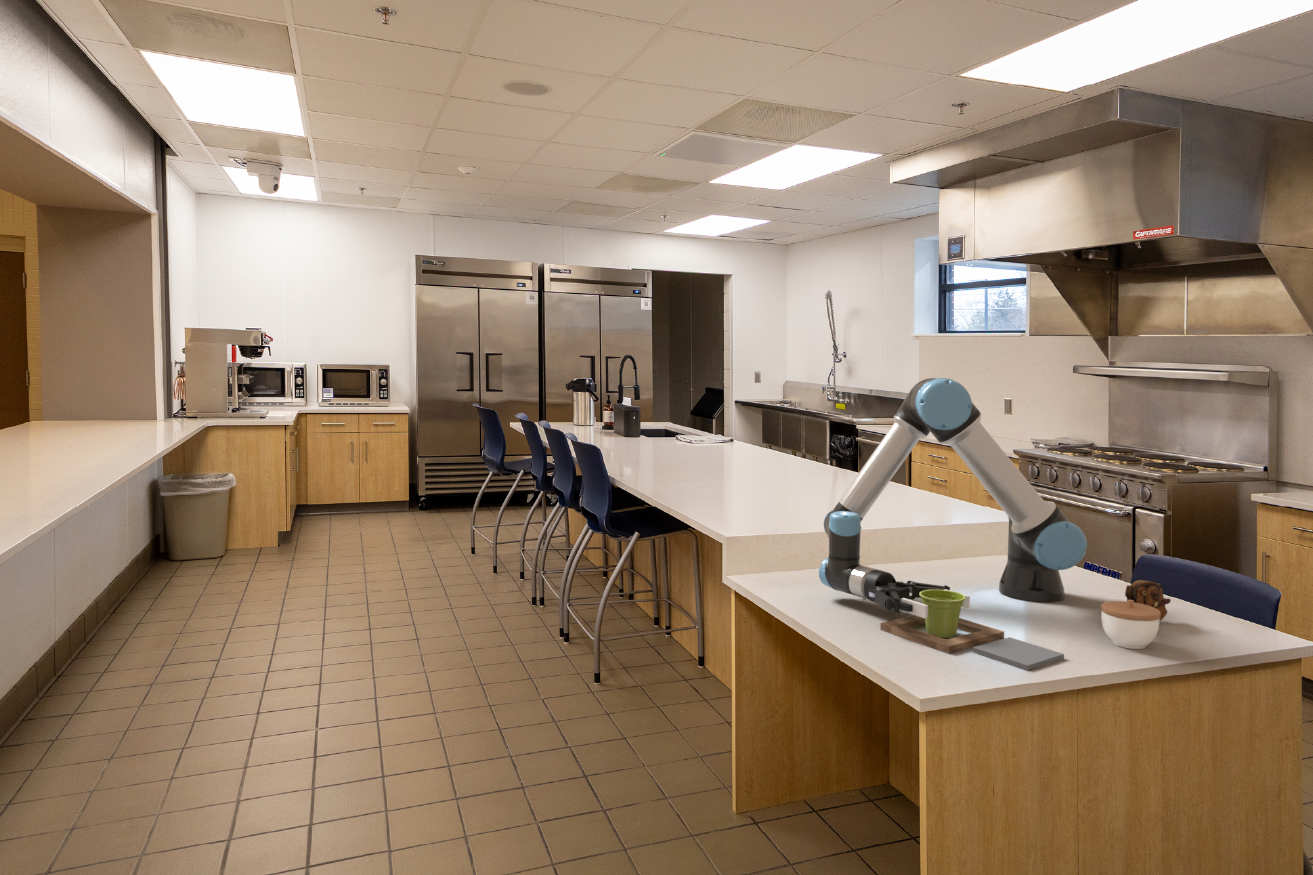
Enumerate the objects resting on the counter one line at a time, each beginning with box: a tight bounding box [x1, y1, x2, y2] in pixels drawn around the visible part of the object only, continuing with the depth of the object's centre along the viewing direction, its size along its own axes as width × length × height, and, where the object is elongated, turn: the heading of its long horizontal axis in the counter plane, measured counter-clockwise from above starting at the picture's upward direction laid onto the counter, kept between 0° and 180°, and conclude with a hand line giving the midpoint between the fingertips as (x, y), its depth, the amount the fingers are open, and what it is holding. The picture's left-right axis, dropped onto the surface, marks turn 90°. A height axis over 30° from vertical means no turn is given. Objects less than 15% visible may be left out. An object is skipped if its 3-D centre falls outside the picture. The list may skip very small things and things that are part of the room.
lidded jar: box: [1100, 600, 1161, 650], centre depth 169 cm, size 11×11×9 cm
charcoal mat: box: [972, 636, 1065, 671], centre depth 163 cm, size 12×12×1 cm
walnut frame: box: [879, 614, 1005, 655], centre depth 176 cm, size 18×18×2 cm
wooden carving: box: [1124, 579, 1171, 623], centre depth 182 cm, size 16×5×10 cm, turn 122°
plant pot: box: [919, 590, 966, 639], centre depth 176 cm, size 9×9×9 cm
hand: (948, 607), depth 174 cm, fingers open, 13 cm apart
